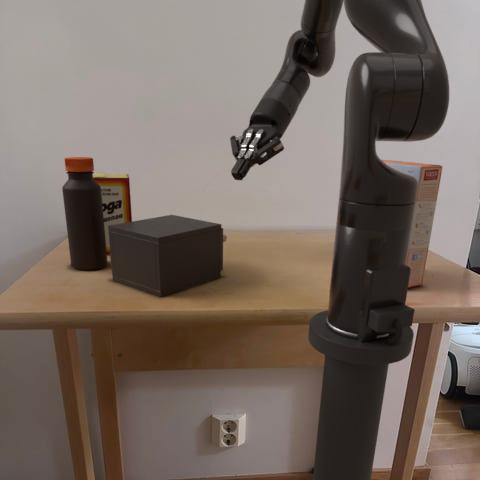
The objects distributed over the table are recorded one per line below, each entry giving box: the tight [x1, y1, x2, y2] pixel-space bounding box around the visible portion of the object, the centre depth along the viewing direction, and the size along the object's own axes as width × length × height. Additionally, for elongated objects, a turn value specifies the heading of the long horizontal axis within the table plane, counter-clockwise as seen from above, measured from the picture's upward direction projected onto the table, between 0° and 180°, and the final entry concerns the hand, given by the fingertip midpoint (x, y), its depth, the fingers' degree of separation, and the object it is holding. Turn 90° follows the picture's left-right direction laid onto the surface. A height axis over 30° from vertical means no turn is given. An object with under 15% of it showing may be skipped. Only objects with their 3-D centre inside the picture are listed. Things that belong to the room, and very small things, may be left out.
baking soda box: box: [93, 172, 133, 255], centre depth 103 cm, size 10×6×16 cm
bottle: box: [61, 156, 108, 271], centre depth 91 cm, size 7×7×20 cm
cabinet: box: [108, 214, 222, 298], centre depth 86 cm, size 15×13×10 cm
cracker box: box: [381, 159, 444, 289], centre depth 87 cm, size 14×6×21 cm, turn 32°
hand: (236, 177), depth 95 cm, fingers closed
